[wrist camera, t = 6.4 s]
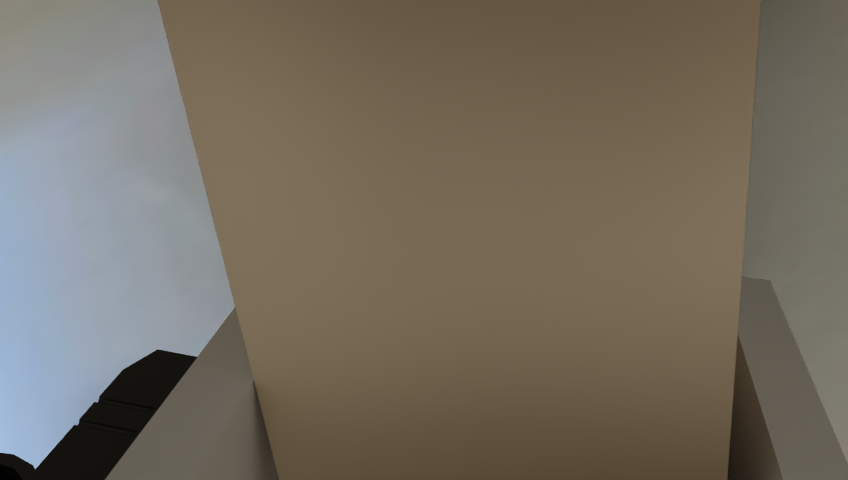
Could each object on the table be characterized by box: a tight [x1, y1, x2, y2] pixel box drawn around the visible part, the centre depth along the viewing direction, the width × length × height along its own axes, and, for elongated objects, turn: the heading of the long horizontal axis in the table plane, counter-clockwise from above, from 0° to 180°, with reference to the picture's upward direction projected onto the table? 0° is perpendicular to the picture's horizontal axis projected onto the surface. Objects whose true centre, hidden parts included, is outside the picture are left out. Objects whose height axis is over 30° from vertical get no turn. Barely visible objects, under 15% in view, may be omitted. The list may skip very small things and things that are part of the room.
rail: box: [158, 0, 761, 480], centre depth 11 cm, size 16×5×5 cm, turn 7°
